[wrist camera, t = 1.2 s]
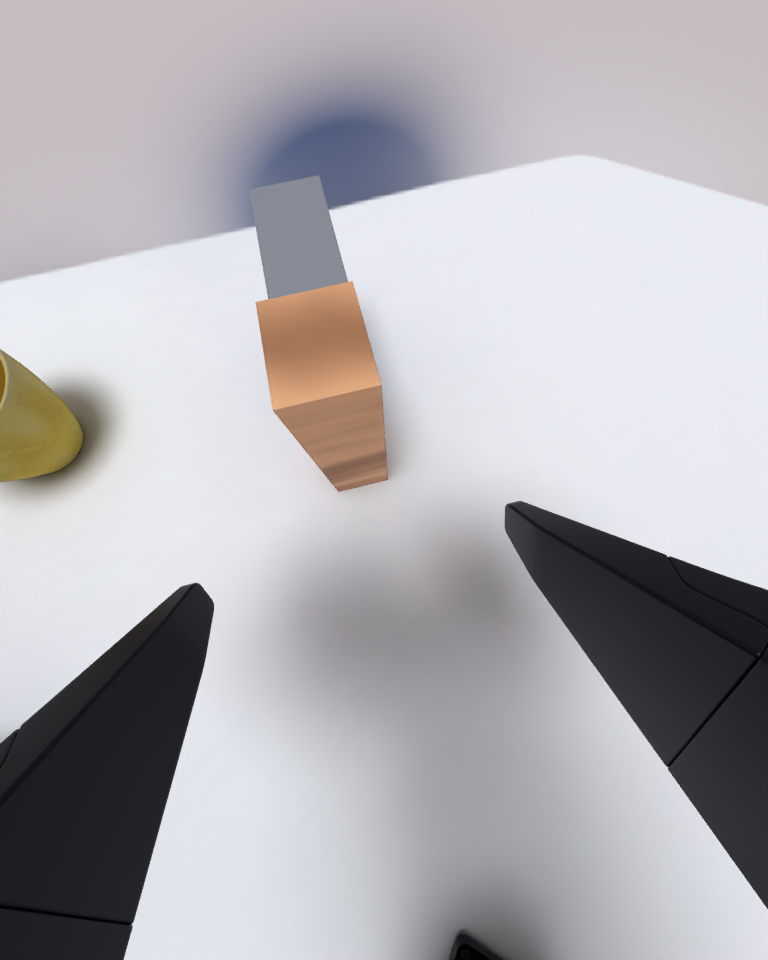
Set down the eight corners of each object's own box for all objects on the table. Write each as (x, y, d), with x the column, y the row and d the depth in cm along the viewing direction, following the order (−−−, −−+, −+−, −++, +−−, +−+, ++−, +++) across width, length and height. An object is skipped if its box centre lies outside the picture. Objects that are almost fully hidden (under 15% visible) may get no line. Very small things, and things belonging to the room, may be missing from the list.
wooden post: (387, 479, 23) (381, 384, 10) (338, 491, 23) (272, 410, 10) (373, 424, 24) (352, 280, 12) (326, 435, 24) (255, 302, 12)
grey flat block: (374, 420, 24) (360, 313, 14) (323, 432, 24) (270, 333, 14) (349, 325, 27) (322, 174, 16) (303, 335, 27) (245, 190, 16)
